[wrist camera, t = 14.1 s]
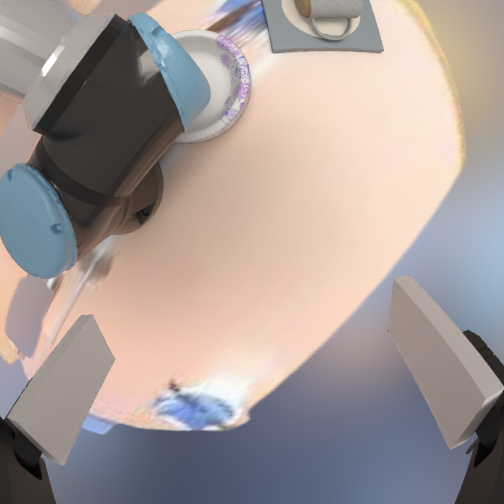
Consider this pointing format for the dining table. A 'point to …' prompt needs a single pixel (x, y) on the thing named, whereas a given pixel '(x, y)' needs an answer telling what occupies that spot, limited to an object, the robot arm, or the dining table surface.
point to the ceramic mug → (330, 13)
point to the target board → (304, 37)
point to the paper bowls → (216, 82)
